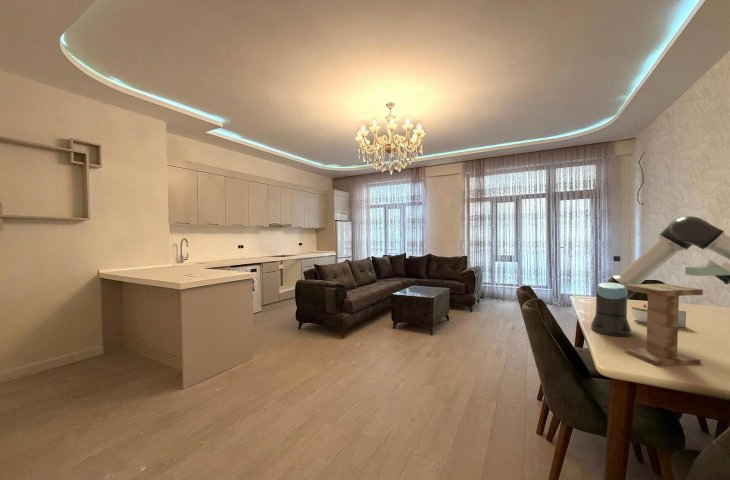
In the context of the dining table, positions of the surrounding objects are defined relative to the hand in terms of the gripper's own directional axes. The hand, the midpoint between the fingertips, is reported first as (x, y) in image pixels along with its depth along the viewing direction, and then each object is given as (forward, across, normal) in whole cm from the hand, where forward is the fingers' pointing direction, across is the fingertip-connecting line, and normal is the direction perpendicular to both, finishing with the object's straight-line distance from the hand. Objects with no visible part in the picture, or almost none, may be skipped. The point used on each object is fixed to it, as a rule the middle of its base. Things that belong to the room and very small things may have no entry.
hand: (716, 264), depth 115 cm
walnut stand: (+2, 0, -43) cm, 43 cm away
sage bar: (-1, 0, -4) cm, 4 cm away
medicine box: (-40, +34, -19) cm, 56 cm away
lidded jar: (-34, +42, -23) cm, 58 cm away
